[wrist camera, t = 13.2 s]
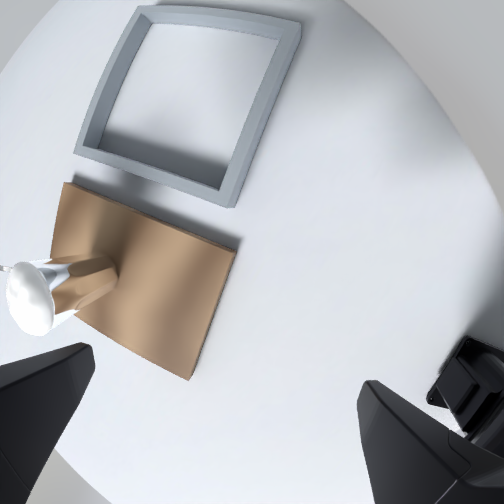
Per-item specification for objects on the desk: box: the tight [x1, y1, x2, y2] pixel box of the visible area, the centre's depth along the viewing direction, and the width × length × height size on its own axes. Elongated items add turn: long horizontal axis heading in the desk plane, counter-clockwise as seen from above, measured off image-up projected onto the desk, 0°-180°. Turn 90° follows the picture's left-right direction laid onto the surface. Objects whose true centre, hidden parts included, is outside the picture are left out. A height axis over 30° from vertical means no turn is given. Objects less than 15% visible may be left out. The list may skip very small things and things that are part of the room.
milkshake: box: [0, 252, 118, 336], centre depth 17 cm, size 4×5×10 cm
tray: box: [73, 5, 302, 208], centre depth 18 cm, size 14×14×2 cm
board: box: [50, 182, 237, 381], centre depth 22 cm, size 16×11×1 cm
